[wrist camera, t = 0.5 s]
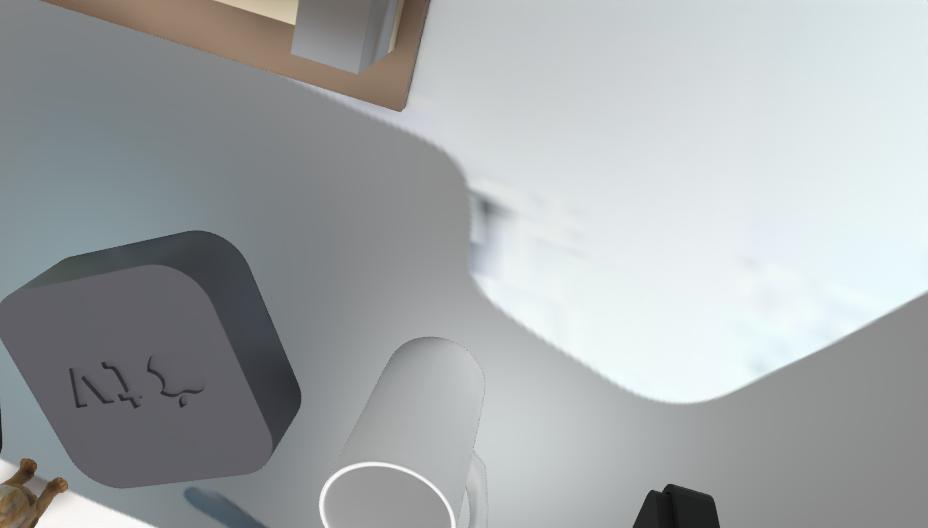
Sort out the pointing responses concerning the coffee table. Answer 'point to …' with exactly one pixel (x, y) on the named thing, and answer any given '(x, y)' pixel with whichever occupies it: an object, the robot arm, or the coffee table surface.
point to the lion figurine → (25, 498)
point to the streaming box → (154, 361)
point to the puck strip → (335, 28)
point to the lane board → (267, 42)
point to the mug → (413, 445)
